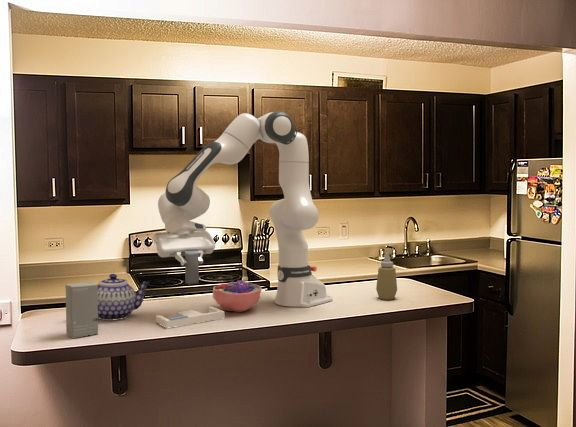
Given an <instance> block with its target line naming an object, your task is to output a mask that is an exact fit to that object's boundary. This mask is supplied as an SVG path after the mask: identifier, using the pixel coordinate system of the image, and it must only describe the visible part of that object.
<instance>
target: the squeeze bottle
mask: <svg viewBox="0 0 576 427" xmlns="http://www.w3.org/2000/svg"><path fill="white" fill-rule="evenodd" d="M390 258H391V257H390V252H385V253H384V258H383V260H382V261H380V266H379V267H378V269H377V278H376V288H375V290H376V293H377V296H378V298H379V299H380V300H385V301H390V300H394V299H395V297H396V294H397V291H398V284H397V281H398V280H397V270H396V268H395V267H394V261H391V259H390Z"/></svg>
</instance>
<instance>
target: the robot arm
mask: <svg viewBox="0 0 576 427" xmlns="http://www.w3.org/2000/svg"><path fill="white" fill-rule="evenodd" d="M257 141H258V142H260V143H264V144H276V146H277V149H278V154H279V156H278V158H279V160H278V184H279V186H280V187H281V189H282V192H283V198H282V199H279V200H276V201H274V202H273V203H271V205H270V208H269V209H268V210H269V211H268V214H269V219H270V220H271V222H272V224H273V227H274V230H275V231H274V232H275V236H276V240H277V246H278V265H277V280H278V282H277V290H276V294H275V295H276V296H275V300H274V303H275V304H276V305H279V306H283V307H299V308H300V307H301V308H310V307H313V306H318V305H321V304H325V303H328V302H333V298H332V296H330V295H328V294H327V289H326V285H325V283H323V282H322V281H321V280H320V279H318V278H317V277H316V276H315V275H313V272H317V269H318V268H317V266H314V265H309V249H308V248H309V245H308V242H307V240H306V239H305V237H304V233H303V231H305V230H311V229H312V228H314V227H315V226H316V225H317V223H318V221H319V216H320V213H319V209H318V208H317V207H316V205H315V203H314V202H313V196H312V193H311V189H310V181H309V180H310V179H309V178H310V176H309V174H310V172H309V171H310V167H309V166H310V163H309V162H310V159H309V158H310V156H309V155H310V153H309V144H308V139H307V137H306V135H304V134H303V133H301V132H298V130H297V128H296V126H295V122H294V121H293V119H292V117H291V116H290V115H289V114H288V113H286V112H284V111H280V110H279V111H278V110H277V111H271V112H267V113H265V114H263V115H261V116H259V117H255V116H254V115H253V114H250V113H248V112H247V113H246V112H244V113H240V114H238V116H236V117H235V118H234V119H233V120H232V122H230V124H228V126H227V127H226V129H225V130H224V131H223V132H222V134H221V135H220V136H218V138H217V139H216V140H214V141H212V142H209V143H207V144H206V145H205V146H204V147H203V148H202V149H201V150H200V151H199V152H197V154H196V155H194V157H193V158H192V159H191V160H190V161H189V162H188V164H187V165H186V166H184V168H183V169H182V170H181V171H180V172H178V173H177V174H175V176H173V177H172V178H170V180H169V181H168V182H167V183H166V184H167V185H166V187H165V192H164V193H162V194H161V195H160V197H159V198H158V200H157V207H158V213H159V215H160V219H161V220H162V222H163V223H164V230H165V232H156V233H155V234H154V235H153V236H152V237H153V238H152V239H153V241H154V243H155V247H156V250H157V251H156V252H157V255H158V256H159V257H160V258H171V257H173V258H175V260H177V261H178V262H180V266H184V267H185V265H186V264H187V261H186V258H185V257H183V256H185V250H188V249H198V250H199V265H202V264H203V263H204V259H203V255H207V254H212V253H213V252H214V250H215V248H216V243H215V241H214V240H213V237H212V236H211V233H210V232H209V231H207V227H206V225H205V224H203V223H198V222H194V221H193V220H194V219H196V218H198V217H199V218H200V217H201V216H202V215H204V214H205V213H206V212H207V211H208V209H209V208H210V205H211V204H210V202H211V201H210V196H209V195H208V194H207V193H206V192H205V191H204V190H203V189H201V187H199V186H198V185H196V184H197V181H198V180H199V178H201V177H202V176H203V175H204V173H205V172H206V171H207V170H208V169H209V168H210V167H211V166H212V165H214V164H224V165H235V164H238V163H239V162H241V161H242V160H243V159H244V157H245V156H246V155H247V154H248V153H249V150H251V147H252V146H253V145H254V144H255V143H256V142H257Z"/></svg>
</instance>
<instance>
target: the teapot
mask: <svg viewBox="0 0 576 427" xmlns="http://www.w3.org/2000/svg"><path fill="white" fill-rule="evenodd" d="M108 277H109V278H106V279H103V280H100V281H98V282H97V293H98V319H99V318H100V320H101V319H103V320H102V321H114V320H113V319H120V320H122V319H121V318H124V319H126V318H128V317H129V316H130V315H131V314H132V312H133V311H135V310H138V309H139V308H141V306H142V304H143V301H144V297H145V290H146V287H147V286H148V285H150V283H151V282H149V281H143V282H141V284H140V285H139V287H138V290H135V289H134V288H133V287H132V285H130V284H129V282H128V280H127V279H124V278H117V277H118V275H117V274H116V273H111V274H109V276H108ZM127 316H128V317H127ZM125 317H126V318H125Z"/></svg>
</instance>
